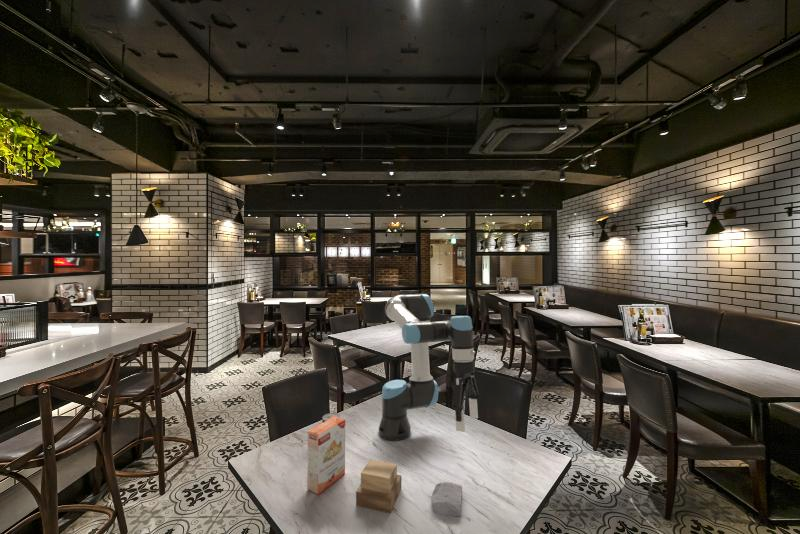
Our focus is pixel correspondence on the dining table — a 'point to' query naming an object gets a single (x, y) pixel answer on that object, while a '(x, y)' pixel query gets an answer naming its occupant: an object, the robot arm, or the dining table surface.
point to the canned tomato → (329, 416)
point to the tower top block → (379, 476)
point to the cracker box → (326, 454)
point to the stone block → (447, 499)
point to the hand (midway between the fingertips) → (467, 424)
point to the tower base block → (379, 498)
